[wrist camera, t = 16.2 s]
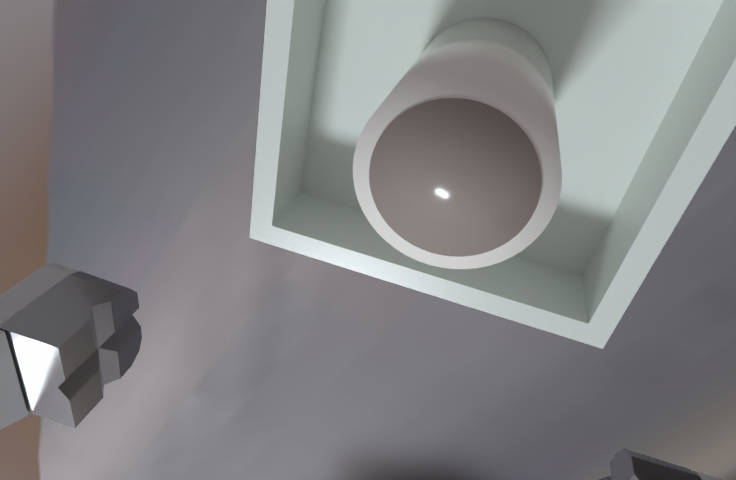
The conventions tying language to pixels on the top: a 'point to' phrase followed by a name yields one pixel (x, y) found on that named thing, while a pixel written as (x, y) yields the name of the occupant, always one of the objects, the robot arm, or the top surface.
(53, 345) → the robot arm
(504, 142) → the white cup
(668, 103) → the sage tray
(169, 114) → the top surface
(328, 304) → the top surface
